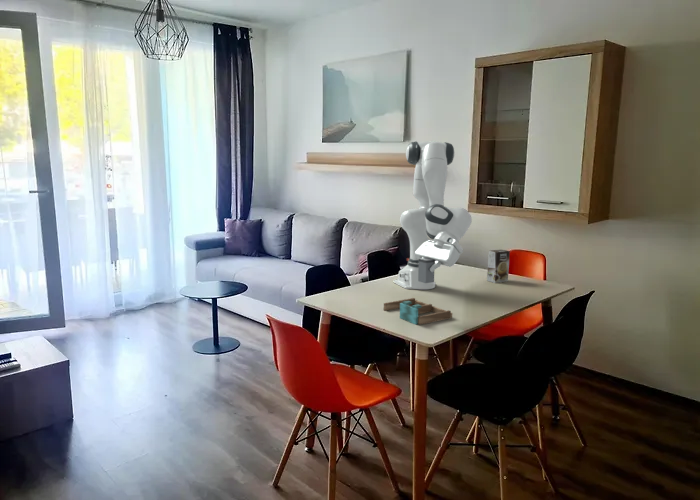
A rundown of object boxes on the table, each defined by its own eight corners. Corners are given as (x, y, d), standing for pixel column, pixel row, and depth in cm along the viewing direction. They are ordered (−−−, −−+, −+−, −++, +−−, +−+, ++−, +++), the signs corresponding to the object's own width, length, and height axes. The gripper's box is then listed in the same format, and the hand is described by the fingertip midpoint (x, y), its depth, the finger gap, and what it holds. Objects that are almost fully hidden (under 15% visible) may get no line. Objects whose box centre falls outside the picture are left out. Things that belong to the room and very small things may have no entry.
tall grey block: (418, 281, 205) (418, 258, 204) (426, 279, 208) (427, 257, 206) (425, 283, 202) (426, 260, 200) (434, 281, 204) (434, 259, 203)
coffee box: (495, 283, 266) (496, 252, 263) (486, 280, 271) (488, 250, 268) (508, 281, 270) (510, 250, 267) (499, 278, 275) (501, 248, 273)
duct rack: (381, 310, 217) (382, 294, 215) (415, 304, 226) (415, 289, 225) (417, 325, 198) (418, 308, 196) (452, 317, 207) (452, 301, 206)
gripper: (423, 234, 214) (404, 260, 211) (458, 241, 197) (438, 269, 194) (431, 244, 217) (412, 269, 214) (466, 251, 200) (447, 279, 197)
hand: (425, 269), depth 204 cm, fingers closed on tall grey block, 4 cm apart
